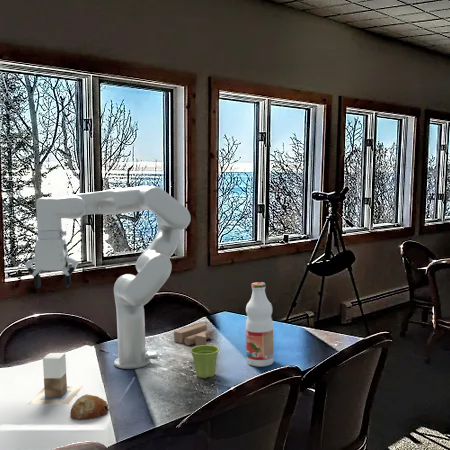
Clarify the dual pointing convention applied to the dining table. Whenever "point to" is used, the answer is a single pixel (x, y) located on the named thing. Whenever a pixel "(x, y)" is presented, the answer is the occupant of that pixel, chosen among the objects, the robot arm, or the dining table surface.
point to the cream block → (54, 365)
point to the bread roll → (89, 408)
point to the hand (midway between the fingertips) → (52, 287)
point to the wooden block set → (192, 335)
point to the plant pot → (205, 360)
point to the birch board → (64, 400)
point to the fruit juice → (259, 328)
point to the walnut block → (55, 387)
